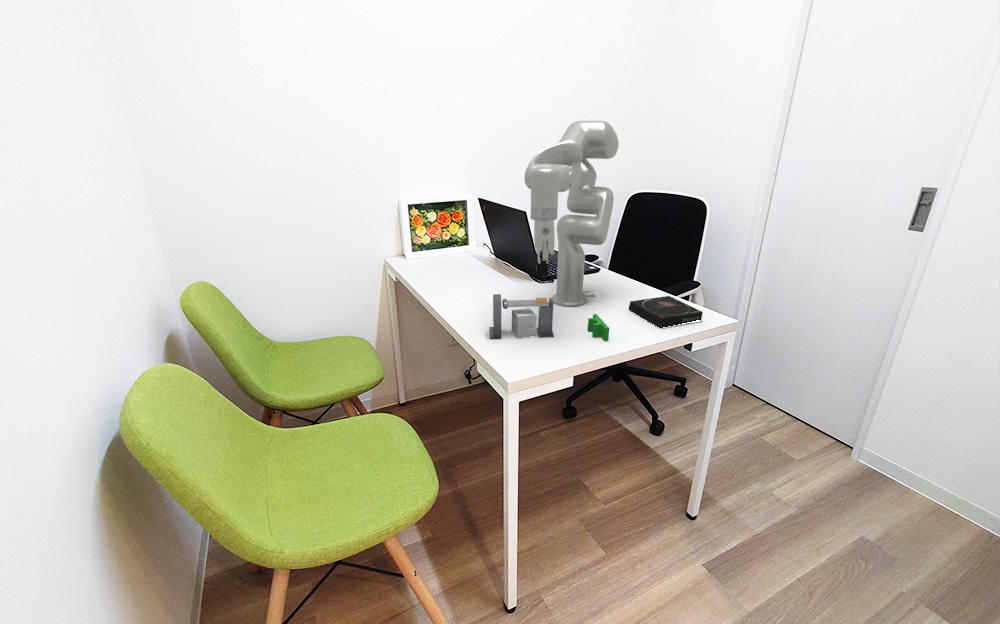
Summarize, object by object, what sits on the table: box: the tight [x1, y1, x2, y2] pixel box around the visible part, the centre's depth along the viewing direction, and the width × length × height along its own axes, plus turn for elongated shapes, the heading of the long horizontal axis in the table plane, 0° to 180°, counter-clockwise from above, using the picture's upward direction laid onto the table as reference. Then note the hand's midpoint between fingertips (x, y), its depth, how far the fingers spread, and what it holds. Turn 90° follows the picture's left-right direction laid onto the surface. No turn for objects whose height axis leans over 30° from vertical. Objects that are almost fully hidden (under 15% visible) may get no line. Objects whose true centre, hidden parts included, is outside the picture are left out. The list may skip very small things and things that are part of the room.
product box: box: [511, 307, 537, 339], centre depth 137 cm, size 6×6×7 cm
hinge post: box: [489, 293, 502, 340], centre depth 136 cm, size 4×8×12 cm, turn 2°
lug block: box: [536, 297, 555, 338], centre depth 136 cm, size 5×6×11 cm
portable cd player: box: [628, 295, 704, 329], centre depth 151 cm, size 16×17×4 cm
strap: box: [501, 297, 549, 310], centre depth 134 cm, size 14×4×2 cm, turn 92°
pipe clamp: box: [587, 313, 610, 342], centre depth 137 cm, size 11×4×5 cm, turn 8°
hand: (542, 275), depth 132 cm, fingers closed
